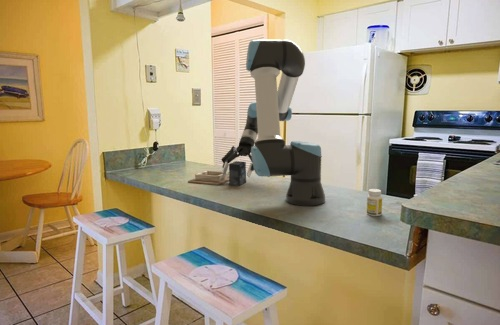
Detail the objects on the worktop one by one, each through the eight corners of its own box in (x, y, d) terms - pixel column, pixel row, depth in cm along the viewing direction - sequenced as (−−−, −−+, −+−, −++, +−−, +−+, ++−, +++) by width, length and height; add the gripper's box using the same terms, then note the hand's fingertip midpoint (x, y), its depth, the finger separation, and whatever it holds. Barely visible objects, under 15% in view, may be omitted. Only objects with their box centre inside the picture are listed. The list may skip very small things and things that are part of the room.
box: (239, 186, 157) (239, 164, 155) (229, 185, 159) (228, 163, 158) (246, 182, 164) (246, 161, 162) (236, 181, 167) (235, 160, 165)
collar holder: (219, 185, 159) (219, 178, 159) (187, 182, 166) (187, 175, 166) (235, 177, 175) (235, 171, 175) (206, 175, 183) (206, 169, 182)
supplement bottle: (378, 211, 116) (379, 188, 115) (383, 216, 111) (385, 191, 110) (364, 212, 116) (365, 188, 114) (369, 216, 111) (370, 192, 110)
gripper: (272, 145, 168) (261, 181, 157) (228, 144, 178) (215, 177, 167) (268, 136, 162) (257, 172, 151) (223, 135, 172) (210, 169, 161)
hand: (235, 175), depth 159 cm, fingers open, 13 cm apart
